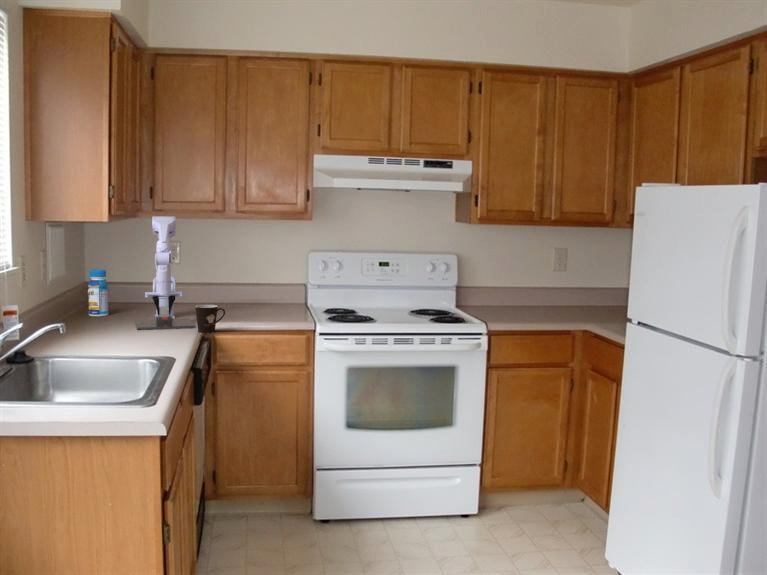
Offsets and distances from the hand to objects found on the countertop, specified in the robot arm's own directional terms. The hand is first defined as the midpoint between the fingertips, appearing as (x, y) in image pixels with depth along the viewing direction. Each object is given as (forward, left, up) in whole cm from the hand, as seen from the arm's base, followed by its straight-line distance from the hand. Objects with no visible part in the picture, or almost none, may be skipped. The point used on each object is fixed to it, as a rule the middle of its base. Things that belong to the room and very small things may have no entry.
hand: (163, 314), depth 306 cm
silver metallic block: (0, 0, -3) cm, 3 cm away
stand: (0, 0, -4) cm, 4 cm away
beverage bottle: (-33, -25, -4) cm, 42 cm away
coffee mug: (+20, +16, -4) cm, 26 cm away
